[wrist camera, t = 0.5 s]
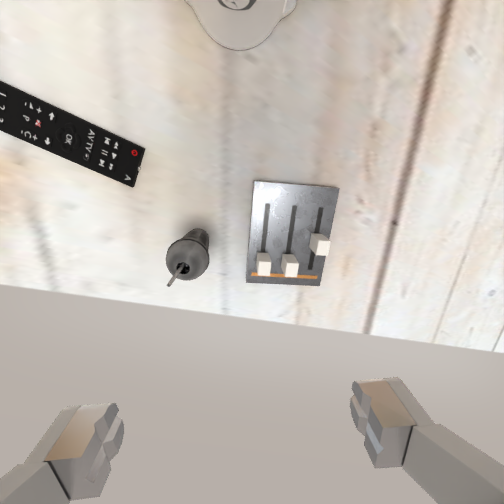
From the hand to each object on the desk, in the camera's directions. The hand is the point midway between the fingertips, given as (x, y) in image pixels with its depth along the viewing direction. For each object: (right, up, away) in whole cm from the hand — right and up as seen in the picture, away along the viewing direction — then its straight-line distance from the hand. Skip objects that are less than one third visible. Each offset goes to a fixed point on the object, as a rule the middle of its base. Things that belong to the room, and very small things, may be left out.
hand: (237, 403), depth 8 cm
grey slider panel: (+8, +9, +44) cm, 46 cm away
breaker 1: (+3, +4, +44) cm, 44 cm away
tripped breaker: (+14, +8, +43) cm, 46 cm away
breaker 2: (+8, +3, +44) cm, 45 cm away
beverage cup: (-11, +8, +44) cm, 46 cm away
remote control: (-35, +28, +36) cm, 57 cm away
